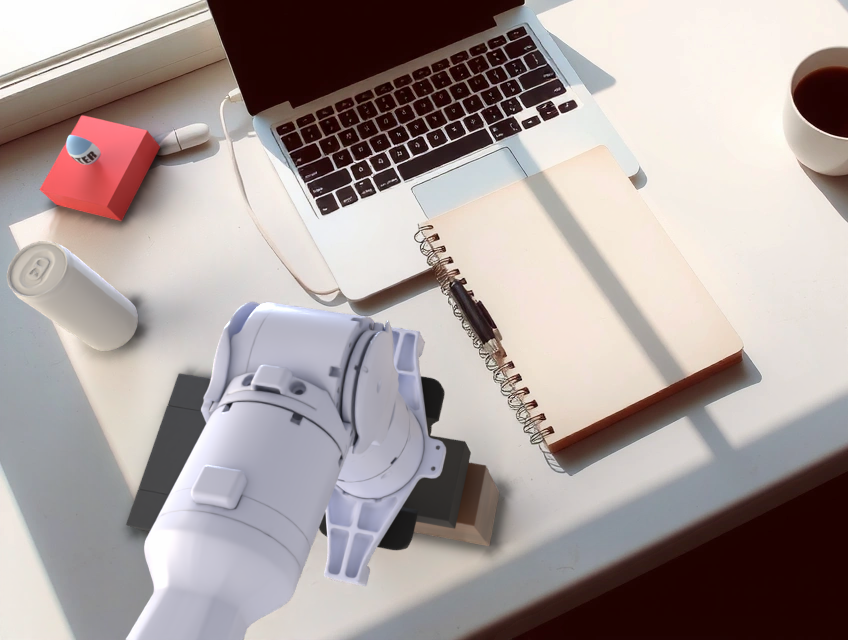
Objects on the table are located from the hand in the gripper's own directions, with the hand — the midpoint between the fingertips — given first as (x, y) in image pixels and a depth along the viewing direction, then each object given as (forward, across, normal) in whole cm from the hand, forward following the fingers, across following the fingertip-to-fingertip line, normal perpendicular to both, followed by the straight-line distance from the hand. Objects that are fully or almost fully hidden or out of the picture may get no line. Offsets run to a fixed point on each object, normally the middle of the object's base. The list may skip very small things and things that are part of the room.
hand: (404, 480), depth 61 cm
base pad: (+10, 0, +17) cm, 20 cm away
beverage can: (+10, +10, +30) cm, 33 cm away
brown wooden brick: (+10, 0, 0) cm, 10 cm away
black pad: (0, 0, 0) cm, 0 cm away
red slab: (+10, +24, +36) cm, 44 cm away
